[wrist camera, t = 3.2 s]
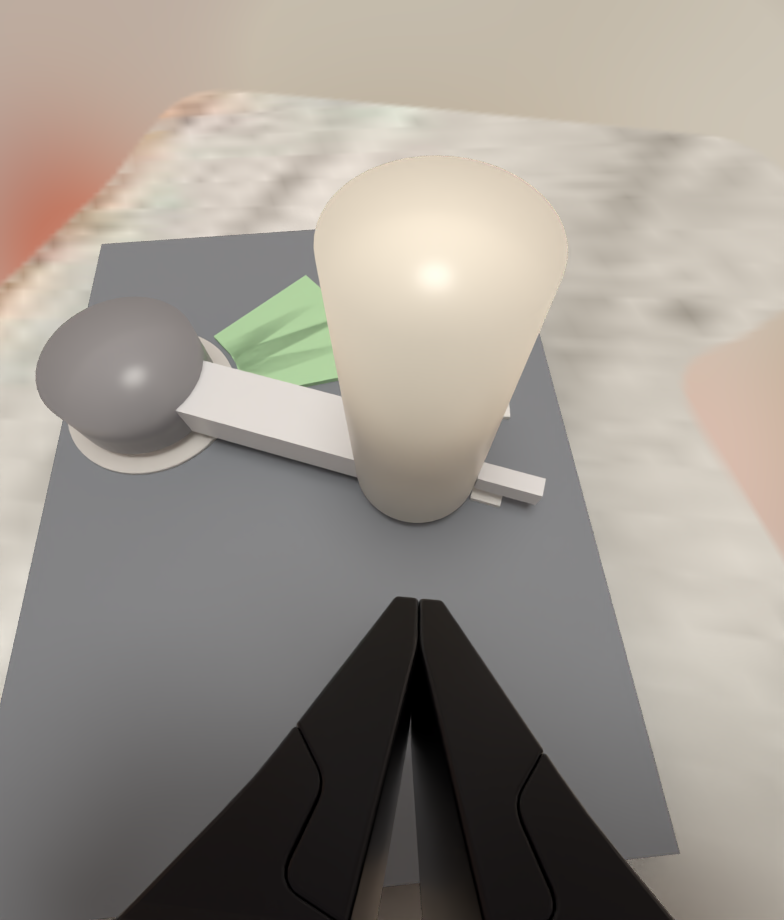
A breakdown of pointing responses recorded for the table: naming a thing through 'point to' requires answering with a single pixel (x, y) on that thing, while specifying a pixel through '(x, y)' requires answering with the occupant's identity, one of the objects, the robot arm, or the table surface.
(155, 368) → the needle lever
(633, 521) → the table surface
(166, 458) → the board
